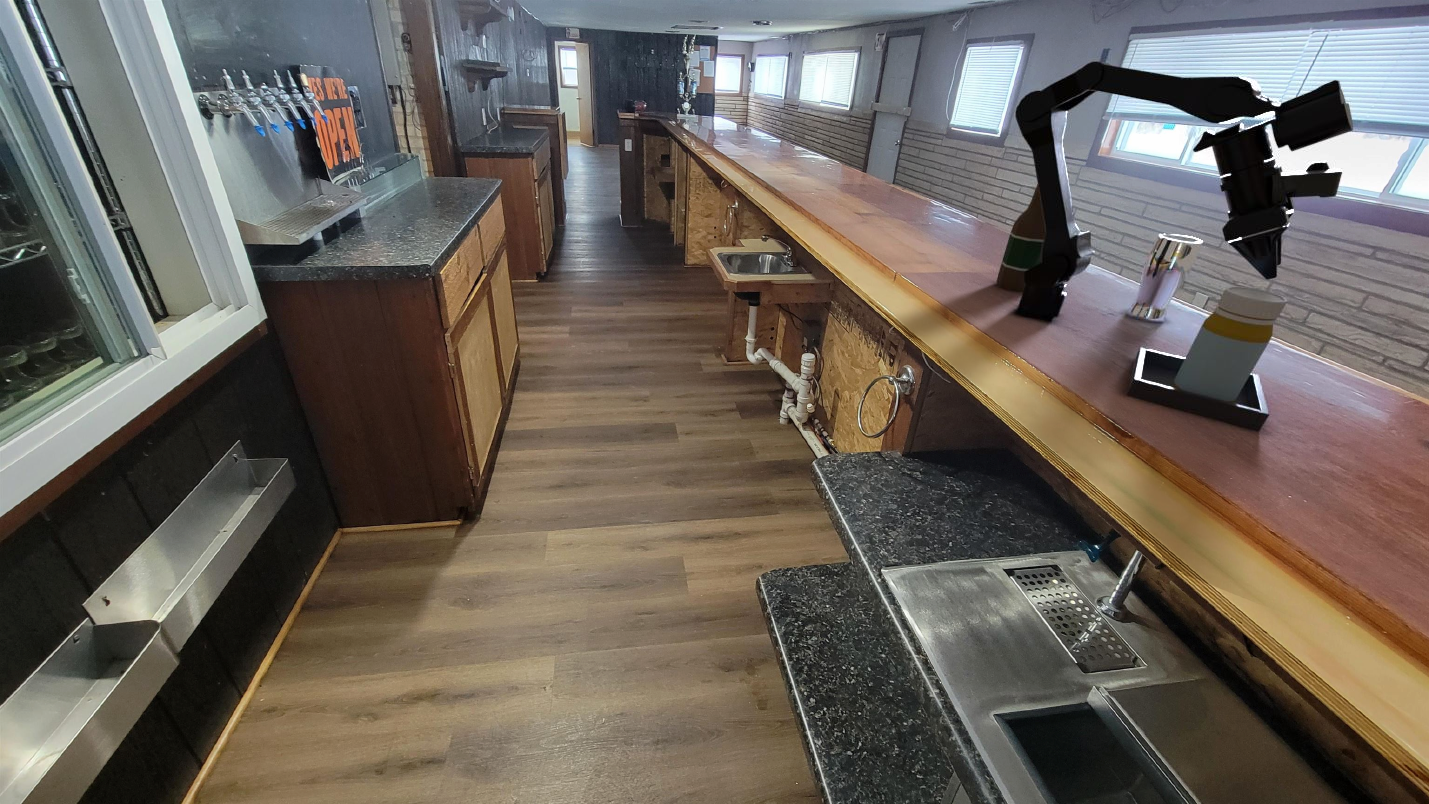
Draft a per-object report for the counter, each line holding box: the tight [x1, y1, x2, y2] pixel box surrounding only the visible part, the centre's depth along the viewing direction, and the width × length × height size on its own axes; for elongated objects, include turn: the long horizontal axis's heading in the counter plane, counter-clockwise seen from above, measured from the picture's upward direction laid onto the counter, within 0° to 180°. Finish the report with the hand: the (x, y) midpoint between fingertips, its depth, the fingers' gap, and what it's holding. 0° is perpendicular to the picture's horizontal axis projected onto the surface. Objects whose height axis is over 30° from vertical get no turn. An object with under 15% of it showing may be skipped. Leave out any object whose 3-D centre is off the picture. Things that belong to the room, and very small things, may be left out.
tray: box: [1126, 346, 1270, 432], centre depth 80 cm, size 15×15×2 cm
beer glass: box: [1126, 233, 1204, 323], centre depth 105 cm, size 7×7×15 cm
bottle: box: [1172, 285, 1288, 403], centre depth 75 cm, size 7×7×15 cm
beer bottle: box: [996, 183, 1045, 293], centre depth 116 cm, size 8×8×24 cm
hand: (1274, 271), depth 82 cm, fingers open, 9 cm apart
